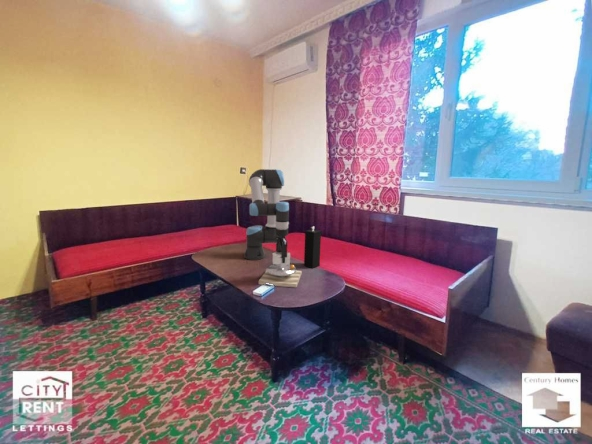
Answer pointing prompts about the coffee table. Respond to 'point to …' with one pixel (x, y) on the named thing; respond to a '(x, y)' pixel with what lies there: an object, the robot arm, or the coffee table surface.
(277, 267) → the handwheel
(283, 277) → the base plate
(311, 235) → the black pillar candle
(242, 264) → the coffee table surface
